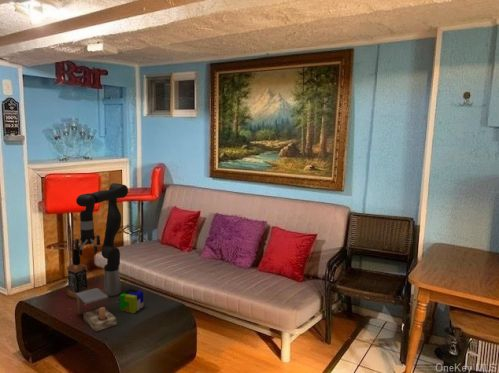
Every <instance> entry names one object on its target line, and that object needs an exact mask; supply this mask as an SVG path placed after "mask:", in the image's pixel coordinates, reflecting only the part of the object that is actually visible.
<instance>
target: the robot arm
mask: <svg viewBox="0 0 499 373" xmlns="http://www.w3.org/2000/svg"><path fill="white" fill-rule="evenodd" d="M128 193H129V188H128V186H127V185H126V184H122V183H116V182H114V183H113V182H112V183H111V184H110V185H109V188H108V189H105V190H103V189H102V190H98V191H93V192H91V193H82V194H80V195H78V196H77V197H76V200H75V201H76V204H77V206H79V207H83V208H85V209H84V210H81V211H80V214H79V218H80V221H79V222H80V224H79V228H80V238H74V249H75V248H76V249H79V256H83V248H84V247H85V246H87V245H91V244H92V245H93V253H97V252H98V246H101V238H100V235H98V234H96V235H95V225H94V224H95V223H94V215H93V214H94V210H95V206H96V204H99V203H102V202H106V201H108V202H107V203H108V206H107V215H106V222H105V229H104V230H105V232H104V239H103V243H102V247H101V255H102V256H101V257H103V259H105V260H107V264H105V265H104V268H103V269H104V271H103V272H104V274H103V275H104V294H106V295H107V296H108V297H114V296H117V295H119V294H121V293H122V287H121V279H120V271H119V270H120V268H119V267H120V263H121V251H120V249H119V248H118V247H116V246H115V244H114V243H115V237H116V235H117V234H118V233H119V231H120V228H121V224H122V215H121V212H120V209H119V207H118V202H117V201H118V199H124V198H126V197H127V195H128ZM94 240H96V242H95V241H94ZM79 243H80V244H79Z"/></svg>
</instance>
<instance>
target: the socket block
mask: <svg viewBox="0 0 499 373" xmlns="http://www.w3.org/2000/svg"><path fill="white" fill-rule="evenodd" d="M82 313H83V321H85V323H86V324H87V325H88V326H89V327H91V329H93V330H94V331H95V332H99V331H102V330H105V329H108V328H110V327H114V326H116V325H118V323H117V317H116V316H114V314H112V313H111V312H110V311H109V310H107V308H105V316H106V319H105V320H102V321H100V316H99V308H98V309H93V310H90V311H86V312H82Z"/></svg>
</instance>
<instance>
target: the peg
mask: <svg viewBox="0 0 499 373" xmlns="http://www.w3.org/2000/svg"><path fill="white" fill-rule="evenodd" d="M98 309H99V316H100V321H102V320H105V319H106V316H105V309H106V307H105V306H100V307H98Z"/></svg>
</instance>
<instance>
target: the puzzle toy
mask: <svg viewBox="0 0 499 373" xmlns="http://www.w3.org/2000/svg"><path fill="white" fill-rule="evenodd" d="M144 304H145V303H144V291H142V290H137V289H130V288H129V289H128V290H127V291H125V292H123V293H122V294H121V293H120V295H119V305H120V307H119V309H120V311H122V312H125V311H126V313H131V314H136V313H137V312H138V311H139V310H141V309H142V308H143V307H144ZM140 308H141V309H140ZM136 311H137V312H136Z"/></svg>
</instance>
